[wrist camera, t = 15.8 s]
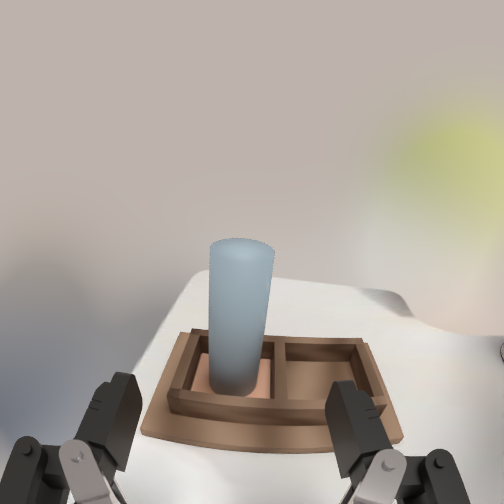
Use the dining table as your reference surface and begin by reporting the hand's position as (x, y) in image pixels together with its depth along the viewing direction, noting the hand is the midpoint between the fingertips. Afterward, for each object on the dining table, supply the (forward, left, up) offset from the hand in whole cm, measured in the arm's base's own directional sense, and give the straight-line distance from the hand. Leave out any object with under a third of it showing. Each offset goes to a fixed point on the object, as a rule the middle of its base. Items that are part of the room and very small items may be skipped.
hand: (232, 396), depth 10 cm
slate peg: (-6, -9, -11) cm, 15 cm away
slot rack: (-9, -6, -12) cm, 17 cm away
